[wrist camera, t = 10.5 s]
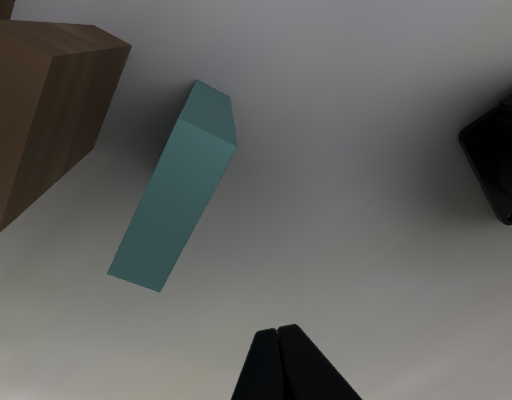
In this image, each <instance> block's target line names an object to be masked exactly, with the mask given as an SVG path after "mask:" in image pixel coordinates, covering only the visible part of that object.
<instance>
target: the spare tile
mask: <svg viewBox="0 0 512 400" xmlns="http://www.w3.org/2000/svg"><path fill="white" fill-rule="evenodd" d="M236 149H237V142H236V135H235V128H234V122H233V115H232V108H231V102H230V97H229V96H227V95H225V94H223V93H221V92H219V91H218V90H216V89H214V88H212V87H210V86H208V85H206V84H204V83H203V82H201V81H199V80H197V81H196V83H195V85H194V87H193V89H192V91H191V93H190V95H189V97H188V99H187V101H186V103H185V105H184V107H183V110H182V112H181V114H180V116H179V118H178V120H177V122H176V124H175V126H174V129H173V131H172V133H171V135H170V137H169V140H168V142H167V144H166V146H165V148H164V150H163V153H162V155H161V157H160V159H159V161H158V164H157V166H156V168H155V170H154V172H153V174H152V177H151V179H150V181H149V183H148V185H147V187H146V190H145V192H144V194H143V196H142V198H141V201H140V203H139V205H138V207H137V209H136V211H135V214H134V216H133V218H132V220H131V222H130V225H129V227H128V229H127V231H126V233H125V235H124V238H123V240H122V242H121V244H120V246H119V249H118V251H117V253H116V255H115V257H114V259H113V262H112V264H111V266H110V268H109V270H108V273H107V274H109V275H112V276H115V277H118V278H120V279H123V280H126V281H129V282H132V283H134V284H137V285H140V286H143V287H146V288H148V289H151V290H154V291H157V292H161V290H162V288H163V286H164V284H165V282H166V280H167V278H168V276H169V275H170V273H171V271H172V269H173V267H174V265H175V263H176V261H177V260H178V258H179V256H180V254H181V252H182V250H183V248H184V246H185V244H186V243H187V241H188V239H189V237H190V235H191V233H192V231H193V229H194V228H195V226H196V224H197V222H198V220H199V218H200V216H201V214H202V213H203V211H204V209H205V207H206V205H207V203H208V201H209V199H210V197H211V196H212V194H213V192H214V190H215V188H216V186H217V184H218V182H219V181H220V179H221V177H222V175H223V173H224V171H225V169H226V167H227V165H228V164H229V162H230V160H231V158H232V156H233V154H234V152H235V150H236Z"/></svg>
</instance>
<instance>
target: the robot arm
mask: <svg viewBox="0 0 512 400" xmlns="http://www.w3.org/2000/svg"><path fill="white" fill-rule="evenodd" d="M471 134H473V135H474V136H473V138H472V139H471V140H470V141H468V138H469V136H470V135H471ZM459 143H460V145H461V147H462V149H463V151H464V153H465V155H466V156H467V158H468V160H469V162H470V164H471V166H472V168H473V170H474V172H475V174H476V176H477V178H478V180H479V182H480V184H481V186H482V188H483V190H484V192H485V194H486V196H487V198H488V200H489V202H490V204H491V206H492V208H493V210H494V212H495V214H496V216H497V218H498V219H499V221H501V222H502V223H504V224H505V225H512V94H511V95H509V96H508V97H506V98H505V99H503V100H502V101H501V102H500V103H499V104H498V105H497V106H496V107H495V108H494V109H492V110H491V111H489V112H488V113H486V114H485V115H483V116H482V117H480V118H479V119H477V120H476V121H474V122H473V123H471V124H470V125H468V126H467V127H465V128H464V129H463V130H462V131H461V132H460V134H459ZM510 214H511V215H510ZM508 215H510V216H509V217H508ZM507 217H508V218H507ZM277 332H278V334H277ZM278 338H279V339H278ZM231 400H362V399H361V397H360V396H359V395H358V394H357V393H356V392H355V390H354V389H353V388H352V387H351V386H350V385H349V384H348V382H347V381H346V380H345V379H344V378H343V377H342V375H341V374H340V373H339V372H338V371H337V370H336V368H335V367H334V366H333V365H332V364H331V363H330V362H329V360H328V359H327V358H326V357H325V356H324V355H323V353H322V352H321V351H320V350H319V349H318V348H317V346H316V345H315V344H314V343H313V342H312V341H311V340H310V338H309V337H308V336H307V335H306V334H305V333H304V331H303V330H302V329H301V328H300V327H299V326H298V325H297V324H291V325H286V326H280V327H279V328H278V329H277V330H276V329H275V328H270V329H265V330H260V331H257V332H256V334H255V336H254V338H253V341H252V344H251V346H250V349H249V352H248V354H247V357H246V360H245V363H244V365H243V368H242V371H241V373H240V376H239V379H238V381H237V384H236V387H235V390H234V392H233V395H232V398H231Z"/></svg>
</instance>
